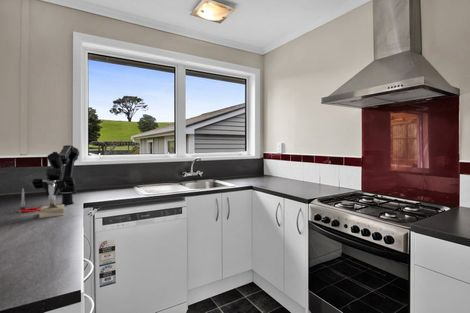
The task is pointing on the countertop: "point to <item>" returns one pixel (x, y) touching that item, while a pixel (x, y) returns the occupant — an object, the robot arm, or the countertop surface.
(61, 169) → the robot arm
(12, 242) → the countertop surface
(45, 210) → the socket block
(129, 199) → the countertop surface
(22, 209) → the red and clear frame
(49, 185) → the steel pin
